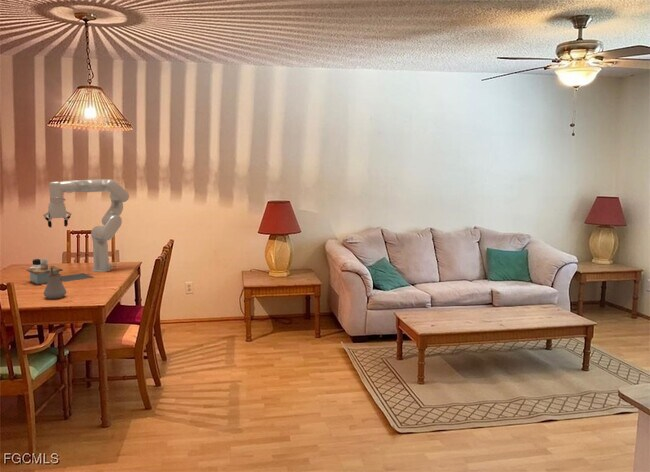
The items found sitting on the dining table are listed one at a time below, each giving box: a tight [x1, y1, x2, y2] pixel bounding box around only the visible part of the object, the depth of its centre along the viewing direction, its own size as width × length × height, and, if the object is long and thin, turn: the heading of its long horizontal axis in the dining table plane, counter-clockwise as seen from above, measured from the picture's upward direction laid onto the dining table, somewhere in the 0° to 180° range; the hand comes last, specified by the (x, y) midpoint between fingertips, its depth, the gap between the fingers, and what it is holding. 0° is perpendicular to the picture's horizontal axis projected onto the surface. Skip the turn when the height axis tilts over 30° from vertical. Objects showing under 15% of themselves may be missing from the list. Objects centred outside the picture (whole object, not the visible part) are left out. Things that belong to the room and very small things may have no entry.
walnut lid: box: [26, 258, 64, 274], centre depth 335 cm, size 16×16×7 cm
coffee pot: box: [43, 267, 67, 300], centre depth 300 cm, size 21×12×15 cm, turn 32°
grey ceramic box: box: [29, 271, 60, 286], centre depth 335 cm, size 13×13×7 cm
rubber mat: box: [60, 273, 96, 282], centre depth 349 cm, size 19×19×1 cm
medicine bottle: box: [29, 258, 42, 269], centre depth 349 cm, size 7×7×12 cm
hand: (58, 226), depth 348 cm, fingers open, 9 cm apart
